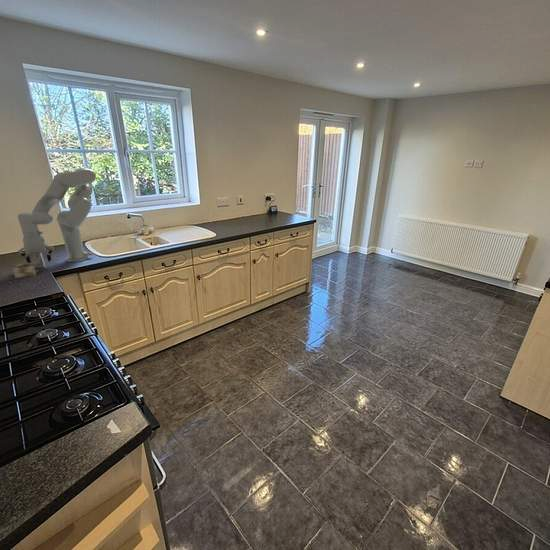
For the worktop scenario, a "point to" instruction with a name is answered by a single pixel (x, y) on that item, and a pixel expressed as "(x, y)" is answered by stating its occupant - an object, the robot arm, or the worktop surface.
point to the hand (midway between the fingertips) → (39, 262)
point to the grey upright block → (39, 259)
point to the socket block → (26, 269)
